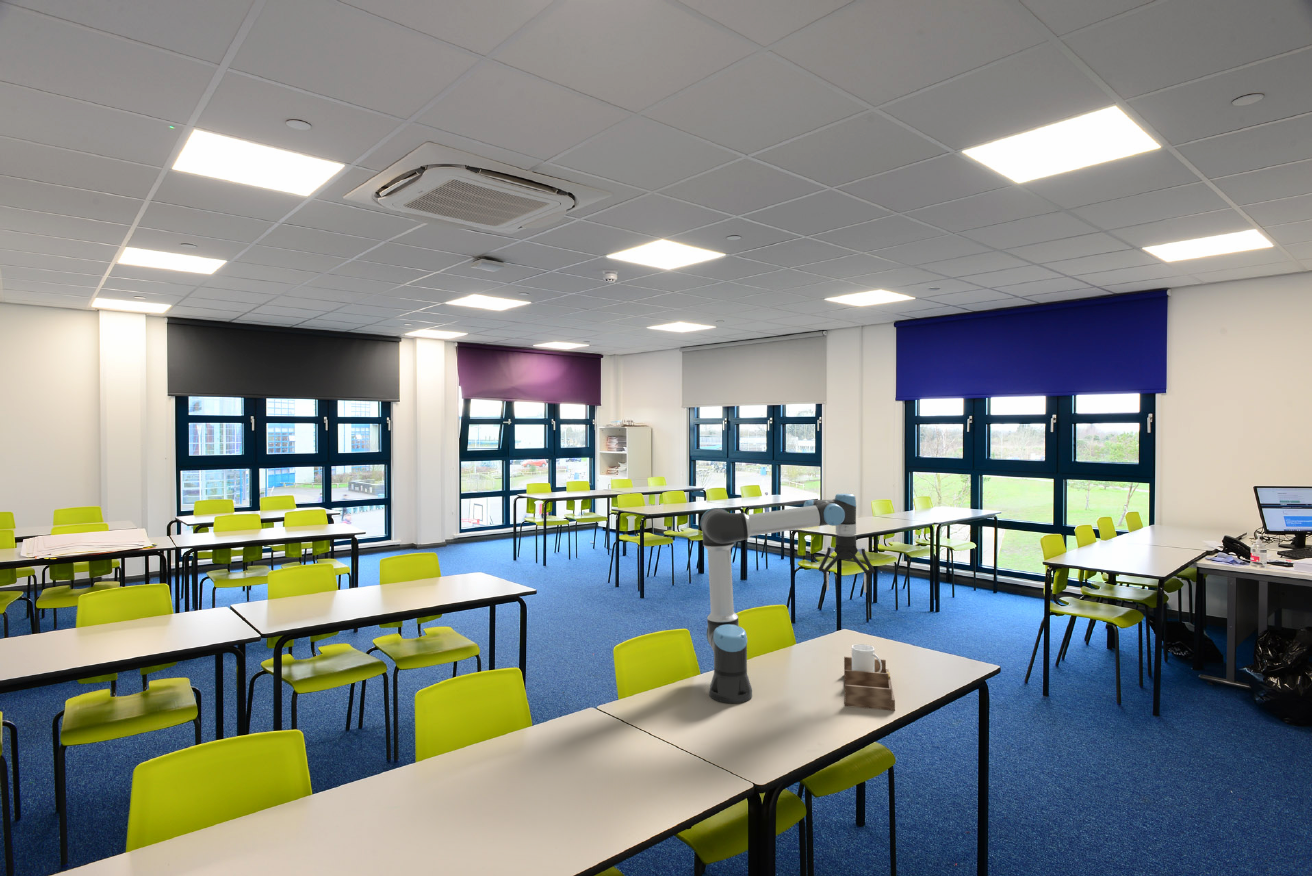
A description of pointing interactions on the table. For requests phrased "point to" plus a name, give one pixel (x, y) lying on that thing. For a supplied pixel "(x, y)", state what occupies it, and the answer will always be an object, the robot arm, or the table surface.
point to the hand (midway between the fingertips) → (846, 590)
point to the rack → (868, 687)
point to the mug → (864, 658)
